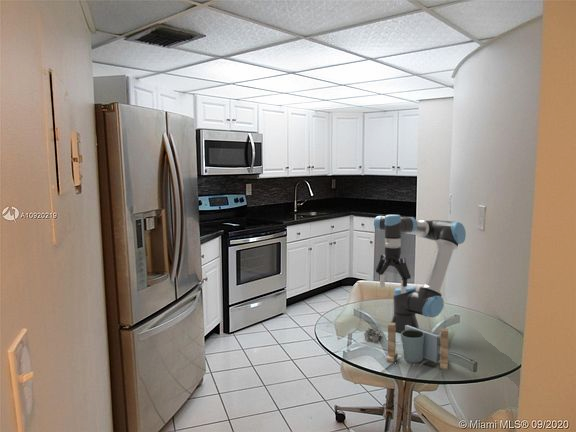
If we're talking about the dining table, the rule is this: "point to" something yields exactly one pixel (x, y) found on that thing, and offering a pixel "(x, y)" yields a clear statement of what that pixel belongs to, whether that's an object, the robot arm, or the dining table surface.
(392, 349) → the door frame
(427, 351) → the door
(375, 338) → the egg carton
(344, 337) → the dining table surface
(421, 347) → the grey blue cup
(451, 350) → the dining table surface
